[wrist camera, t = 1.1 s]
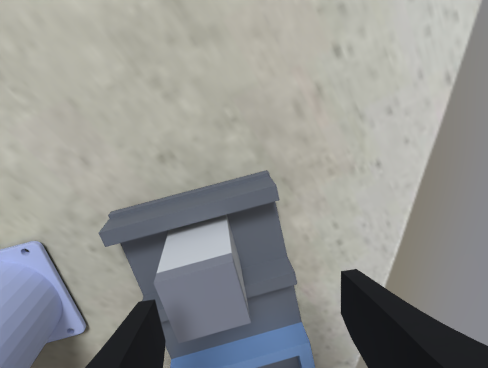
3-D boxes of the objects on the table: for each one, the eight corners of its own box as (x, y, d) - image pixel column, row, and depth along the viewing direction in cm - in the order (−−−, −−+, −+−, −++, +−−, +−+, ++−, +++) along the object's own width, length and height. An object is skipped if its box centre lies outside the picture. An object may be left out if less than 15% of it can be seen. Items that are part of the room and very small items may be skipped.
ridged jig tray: (198, 413, 26) (197, 446, 24) (111, 211, 19) (96, 229, 17) (313, 380, 27) (324, 409, 24) (267, 170, 20) (275, 181, 17)
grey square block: (186, 275, 21) (178, 343, 15) (169, 227, 20) (153, 283, 14) (239, 260, 21) (251, 322, 15) (225, 212, 20) (232, 261, 14)
